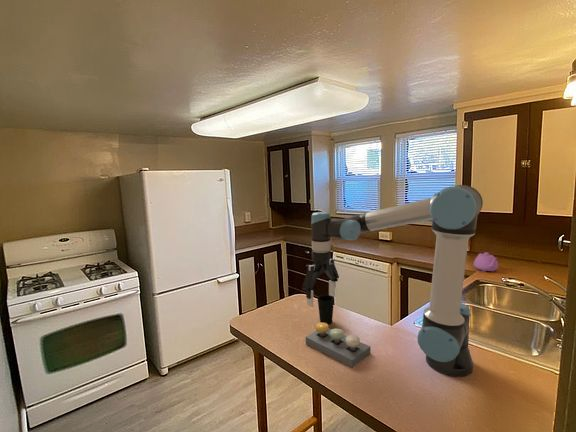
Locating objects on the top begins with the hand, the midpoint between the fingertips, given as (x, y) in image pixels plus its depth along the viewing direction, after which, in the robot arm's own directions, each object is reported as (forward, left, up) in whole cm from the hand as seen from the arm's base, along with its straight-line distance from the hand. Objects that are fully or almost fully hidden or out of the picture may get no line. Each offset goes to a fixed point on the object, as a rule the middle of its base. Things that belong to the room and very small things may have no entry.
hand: (321, 300), depth 127 cm
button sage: (-8, +1, -15) cm, 17 cm away
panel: (-8, +1, -17) cm, 19 cm away
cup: (+9, -13, -18) cm, 24 cm away
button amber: (-1, +1, -15) cm, 15 cm away
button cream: (-16, +1, -15) cm, 22 cm away
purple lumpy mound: (-24, -145, -18) cm, 148 cm away
